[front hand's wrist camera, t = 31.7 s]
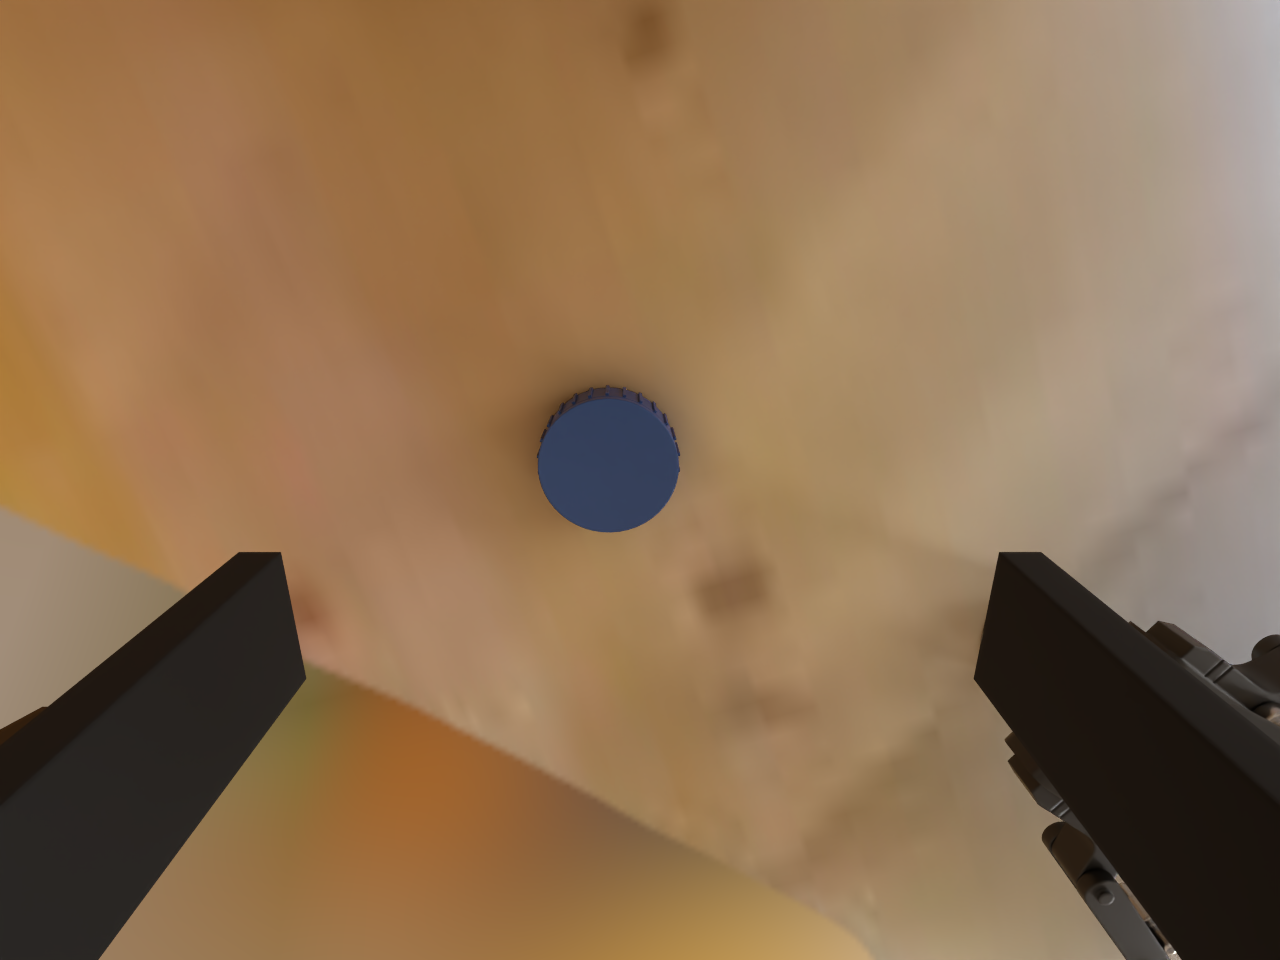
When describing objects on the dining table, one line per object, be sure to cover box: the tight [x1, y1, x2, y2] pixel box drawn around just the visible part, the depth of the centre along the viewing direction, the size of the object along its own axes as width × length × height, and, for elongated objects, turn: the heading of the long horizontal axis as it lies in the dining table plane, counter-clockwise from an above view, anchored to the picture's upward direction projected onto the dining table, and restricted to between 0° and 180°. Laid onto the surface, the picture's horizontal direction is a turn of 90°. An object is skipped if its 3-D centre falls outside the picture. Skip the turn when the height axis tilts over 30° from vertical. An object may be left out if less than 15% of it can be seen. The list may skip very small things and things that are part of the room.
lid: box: [537, 385, 680, 532], centre depth 24 cm, size 5×5×2 cm
